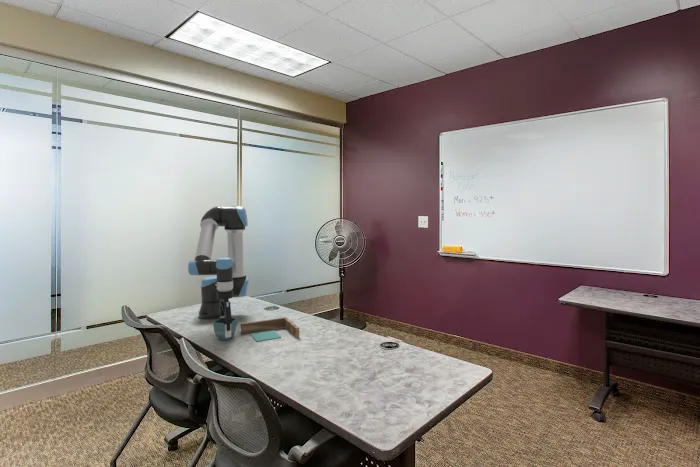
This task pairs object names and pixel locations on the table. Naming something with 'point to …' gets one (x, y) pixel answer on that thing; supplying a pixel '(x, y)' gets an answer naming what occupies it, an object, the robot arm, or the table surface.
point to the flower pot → (220, 328)
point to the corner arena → (270, 326)
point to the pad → (265, 335)
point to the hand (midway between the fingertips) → (225, 333)
